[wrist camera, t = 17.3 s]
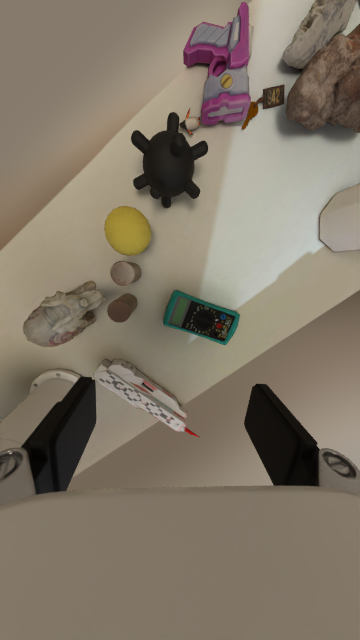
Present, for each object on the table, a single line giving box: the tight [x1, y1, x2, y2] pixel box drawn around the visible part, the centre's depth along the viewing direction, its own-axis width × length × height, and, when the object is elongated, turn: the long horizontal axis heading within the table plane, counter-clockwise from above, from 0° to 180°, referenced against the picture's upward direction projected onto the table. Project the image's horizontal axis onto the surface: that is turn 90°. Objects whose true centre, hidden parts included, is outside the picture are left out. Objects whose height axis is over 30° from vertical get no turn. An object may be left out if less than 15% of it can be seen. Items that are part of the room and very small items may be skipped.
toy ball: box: [131, 112, 208, 208], centre depth 27 cm, size 11×11×12 cm
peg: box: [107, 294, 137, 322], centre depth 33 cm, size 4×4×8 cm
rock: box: [286, 24, 360, 133], centre depth 27 cm, size 18×12×10 cm, turn 117°
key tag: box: [242, 85, 284, 129], centre depth 30 cm, size 8×3×1 cm, turn 120°
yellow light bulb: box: [105, 206, 151, 256], centre depth 29 cm, size 7×7×10 cm
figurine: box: [23, 281, 105, 347], centre depth 31 cm, size 10×14×15 cm, turn 103°
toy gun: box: [183, 2, 253, 125], centre depth 27 cm, size 3×11×10 cm
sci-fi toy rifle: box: [94, 359, 199, 437], centre depth 42 cm, size 4×6×30 cm
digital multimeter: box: [163, 290, 240, 345], centre depth 38 cm, size 7×15×3 cm, turn 69°
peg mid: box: [111, 261, 141, 286], centre depth 32 cm, size 4×4×8 cm
